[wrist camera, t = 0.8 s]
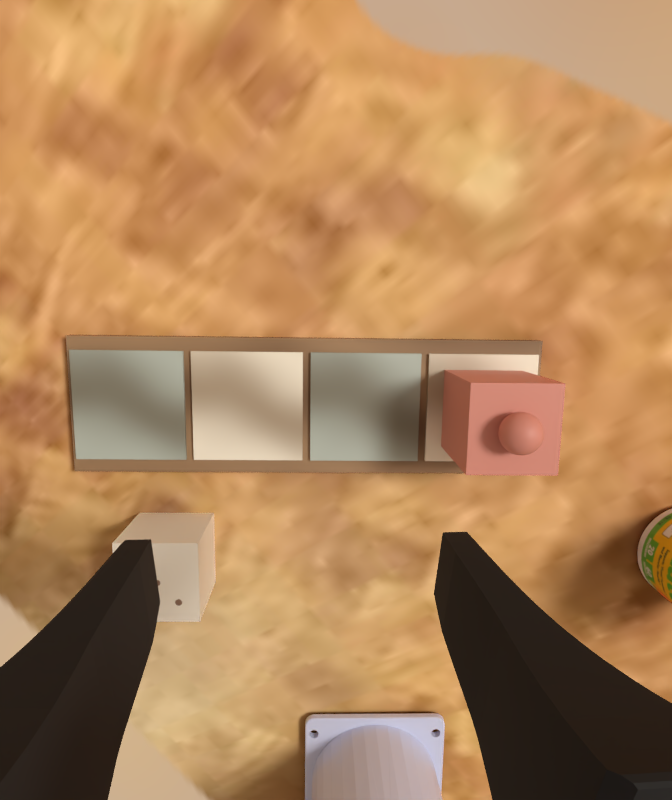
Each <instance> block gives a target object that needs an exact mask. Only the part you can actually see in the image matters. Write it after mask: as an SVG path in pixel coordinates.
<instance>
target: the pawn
mask: <svg viewBox="0 0 672 800" xmlns="http://www.w3.org/2000/svg"><path fill="white" fill-rule="evenodd" d="M564 395H565V383H561V382H558V381H555V380H552V379H548V378H545V377H542V376H539V375H535V374H532V373H529V372H525V371H513V370H444V392H443V414H442V436H441V447H442V448H443V449H444V450H445V451H446V453H447V454H448V455H449V456H450V457H451V458H452V460H453V461H454V462H455V463H456V464H457V465H458V466H459V468H460V469H461V470H462V471H463V472H464V473H465V474H466V475H558V468H559V456H560V444H561V431H562V419H563V407H564Z"/></svg>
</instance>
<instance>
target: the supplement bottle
mask: <svg viewBox="0 0 672 800" xmlns="http://www.w3.org/2000/svg"><path fill="white" fill-rule="evenodd" d="M637 558H638V564H639V568H640V570H641V572H642V574H643V576H644V578H645V579H646V580H647V582H648V583H649V584H650V585H651V586H652V587H653V588H654V589H656V590H657V591H658V592H659V593H660V594H661V595H662V596H664V597H665V598H666V599H667V600H668V601H669V602H671V603H672V508H671V509H669V510H667V511H665V512H663V513H662V514H660V515H659V516H657V517H656V518H655V519H654V520H653V521H652V522H651V523H650V524H649V525H648V526H647V527H646V529H645V530H644V532H643V534H642V536H641V538H640V541H639V545H638V551H637Z"/></svg>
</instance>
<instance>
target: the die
mask: <svg viewBox="0 0 672 800" xmlns="http://www.w3.org/2000/svg"><path fill="white" fill-rule="evenodd" d="M144 539H151V542H152V549H153V556H154V563H155V569H156V576H157V583H158V590H159V597H160V606H159V612H158V617H157V622H200V621H201V618H202V616H203V613H204V611H205V608H206V606H207V603H208V600H209V598H210V595H211V593H212V590H213V587H214V585H215V582H216V573H215V532H214V513H139V514H138V515H137V516H136V517H135V518H134V519H133V520H132V522H131V523H130V524H129V525H128V526H127V527H126V528H125V529H124V531H123V532H122V533H121V534H120V535H119V536H118V537H117V538H116V539H115V541H114V542H113V543H112V551H113V553H114V552H115V550H116V549H117V548H118V547H119V546H120V545H121V544H122V543H123V542H124V541H125V540H144Z"/></svg>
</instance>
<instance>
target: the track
mask: <svg viewBox="0 0 672 800" xmlns="http://www.w3.org/2000/svg"><path fill="white" fill-rule="evenodd" d="M66 347H67V362H68V377H69V392H70V407H71V422H72V437H73V452H74V467H75V471H137V472H335V473H464V472H463V471H462V470H461V469H460V468H459V466H458V465H457V464H456V463H455V462H454V461H453V460H452V458H451V457H450V456H449V455H448V454H447V453H446V451H445V450H444V449H443V448H442V447H441V436H442V414H443V392H444V370H513V371H525V372H529V373H532V374H535V375H539V376H540V367H541V354H542V341H538V340H459V339H374V338H289V337H204V336H119V335H66Z"/></svg>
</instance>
